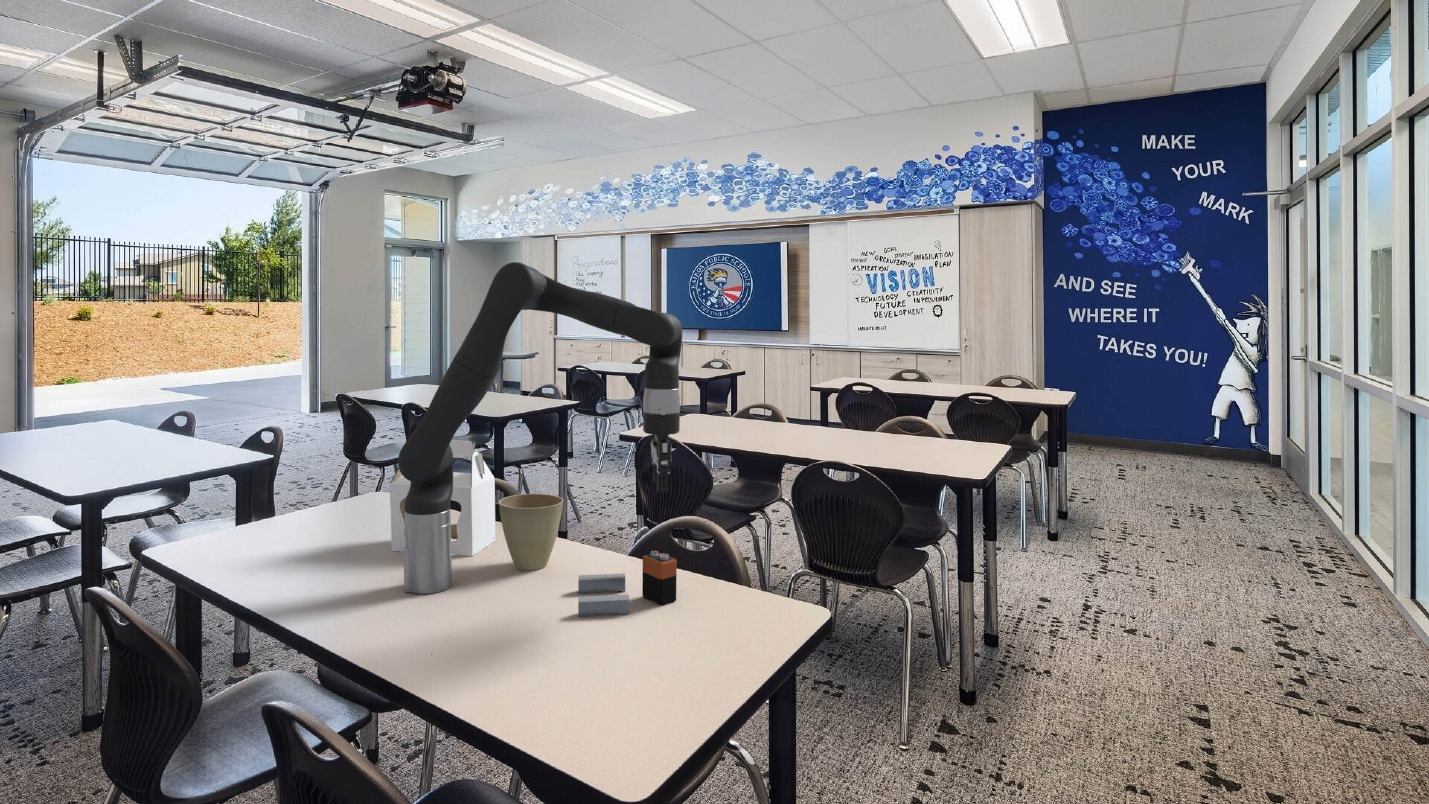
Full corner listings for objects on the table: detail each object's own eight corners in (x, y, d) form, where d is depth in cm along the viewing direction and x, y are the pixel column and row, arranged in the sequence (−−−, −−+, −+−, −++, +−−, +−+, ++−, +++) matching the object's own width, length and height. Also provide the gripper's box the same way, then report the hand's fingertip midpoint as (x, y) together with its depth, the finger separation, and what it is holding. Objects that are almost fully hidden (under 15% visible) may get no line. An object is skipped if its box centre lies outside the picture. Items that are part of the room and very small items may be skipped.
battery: (660, 606, 156) (661, 559, 155) (641, 597, 161) (641, 551, 160) (677, 601, 158) (677, 555, 157) (657, 592, 164) (657, 547, 162)
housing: (578, 616, 149) (578, 600, 149) (578, 590, 164) (578, 575, 164) (629, 614, 151) (629, 597, 151) (624, 588, 166) (624, 573, 165)
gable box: (496, 541, 199) (495, 437, 197) (473, 556, 186) (471, 445, 184) (418, 537, 203) (415, 434, 200) (390, 551, 190) (387, 441, 187)
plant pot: (511, 580, 170) (510, 510, 168) (491, 562, 182) (490, 497, 181) (573, 569, 178) (573, 503, 176) (550, 553, 190) (549, 491, 189)
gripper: (640, 406, 162) (640, 480, 163) (646, 414, 148) (645, 495, 149) (675, 406, 163) (674, 480, 165) (684, 414, 149) (683, 494, 151)
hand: (660, 487), depth 157 cm, fingers open, 8 cm apart
